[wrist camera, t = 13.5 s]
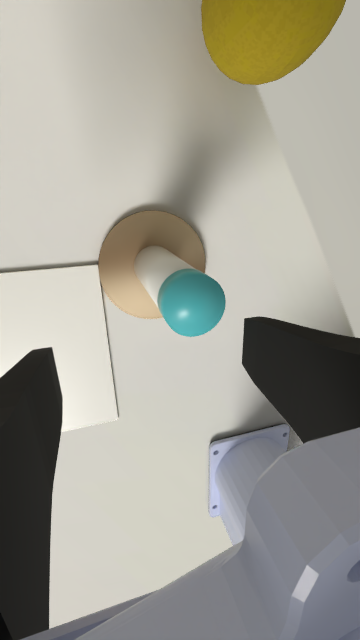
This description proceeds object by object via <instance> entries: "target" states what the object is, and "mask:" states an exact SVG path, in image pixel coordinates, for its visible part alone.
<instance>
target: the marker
mask: <svg viewBox="0 0 360 640" xmlns="http://www.w3.org/2000/svg"><path fill="white" fill-rule="evenodd" d="M134 271H135V274H136V276H137V277H138V279H139V280H140V282H141V283H142V285H143V286H144V288H145V289H146V291H147V292H148V294H149V295H150V296H151V298H152V299H153V301H154V302H155V304H156V305H157V307H158V308H159V311H160V313H161V314H162V316H163V318H164V319H165V320H166V322H167V323H168V325H169V326H170V327H171V329H172V330H174V331H175V332H176V333H178V334H180V335H183V336H190V337H192V336H199V335H202V334H204V333H207V332H208V331H210V330H211V329H212V328H214V327H215V326H216V325H217V323H218V322H219V321H220V319H221V317H222V315H223V313H224V310H225V295H224V291H223V289H222V288H221V286H220V285H219V284H218V282H216V281H215V280H214V279H212V278H211V277H209V276H208V275H206V274H205V273H203V272H201V271H199V270H197V269H195V268H193V267H192V266H190V265H189V264H187V263H186V262H184V261H183V260H181V259H180V258H178V257H177V256H175V255H174V254H172V253H171V252H169V251H168V250H166V249H165V248H163V247H161V246H148V247H146V248H144V249H142V250H141V251H140V252H139V253H138V255H137V256H136V259H135V262H134Z"/></svg>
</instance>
